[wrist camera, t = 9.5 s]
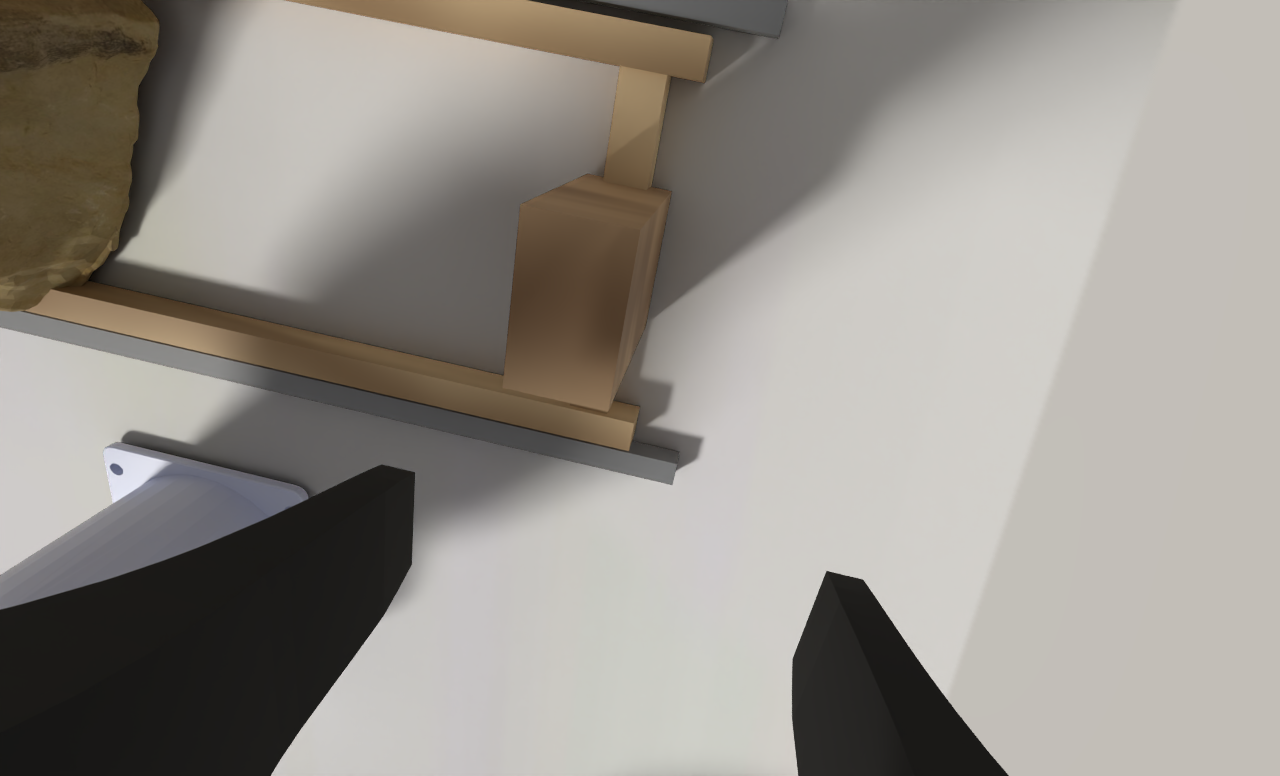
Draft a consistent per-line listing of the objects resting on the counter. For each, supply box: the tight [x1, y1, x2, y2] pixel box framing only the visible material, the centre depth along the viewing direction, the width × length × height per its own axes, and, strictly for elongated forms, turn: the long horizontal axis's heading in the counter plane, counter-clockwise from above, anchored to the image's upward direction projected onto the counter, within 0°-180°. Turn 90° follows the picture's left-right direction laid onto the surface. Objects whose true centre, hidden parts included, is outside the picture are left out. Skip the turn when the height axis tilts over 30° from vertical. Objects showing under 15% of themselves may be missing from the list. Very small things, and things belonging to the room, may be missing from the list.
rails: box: [0, 0, 788, 485], centre depth 18 cm, size 20×37×1 cm, turn 80°
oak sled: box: [25, 0, 714, 451], centre depth 17 cm, size 12×25×6 cm, turn 80°
